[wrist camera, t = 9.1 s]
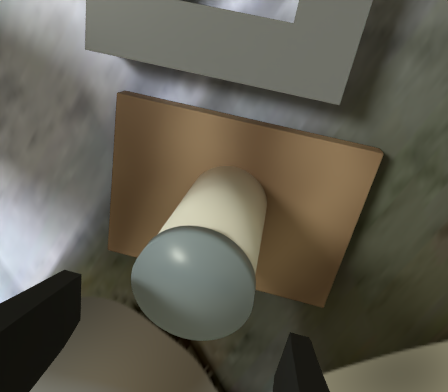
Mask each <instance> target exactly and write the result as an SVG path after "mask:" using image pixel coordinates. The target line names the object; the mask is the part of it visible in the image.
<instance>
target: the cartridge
mask: <svg viewBox="0 0 448 392" xmlns="http://www.w3.org/2000/svg"><path fill="white" fill-rule="evenodd" d="M266 209H267V199H266V195H265V192H264V189H263V187H262V186H261V184H260V183H259V181H258V180H257V179H256V178H255V177H254V176H253V175H251V174H250V173H248V172H247V171H245V170H243V169H240V168H237V167H232V166H219V167H214V168H212V169H209V170H207V171H205V172H204V173H203V174H201V175H200V176H199V177H198V178H197V180H196V181H195V183H194V184H193V185H192V187H191V188H190V190H189V191H188V192H187V194H186V195H185V197H184V198H183V199H182V201H181V202H180V204H179V205H178V206H177V208H176V209H175V211H174V212H173V213H172V215H171V216H170V218H169V219H168V220H167V222H166V223H165V225H164V226H163V227H162V229H161V230H160V232H159V233H158V234H157V235H156V236H155V237H153V238H152V239H151V240H150V241H149V243H148V244H147V245H146V247H145V248H144V249H143V251H142V252H141V254H140V255H139V256H138V258H137V259H136V261H135V263H134V266H133V269H132V275H131V285H132V290H133V294H134V297H135V299H136V301H137V303H138V305H139V306H140V308H141V310H142V311H143V312H144V313H145V315H146V316H147V317H148V318H149V319H150V320H151V321H152V322H154V323H155V324H156V325H157V326H159V327H160V328H162V329H164V330H165V331H167V332H169V333H171V334H174V335H176V336H179V337H182V338H186V339H190V340H198V341H207V340H215V339H220V338H223V337H226V336H228V335H230V334H232V333H234V332H235V331H237V330H238V329H239V328H240V327H241V326H243V325H244V323H245V322H246V321H247V319H248V318H249V316H250V314H251V311H252V308H253V303H254V296H255V290H256V277H255V274H256V268H257V262H258V256H259V251H260V245H261V239H262V233H263V227H264V221H265V215H266Z"/></svg>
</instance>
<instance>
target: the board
mask: <svg viewBox="0 0 448 392" xmlns="http://www.w3.org/2000/svg"><path fill="white" fill-rule="evenodd" d="M382 157H383V152H382V151H381V150H380V149H379V148H375V147H371V146H366V145H362V144H358V143H353V142H349V141H344V140H340V139H336V138H331V137H327V136H322V135H318V134H314V133H309V132H305V131H301V130H296V129H292V128H287V127H283V126H279V125H274V124H270V123H265V122H261V121H257V120H252V119H248V118H243V117H239V116H235V115H230V114H226V113H221V112H217V111H213V110H208V109H204V108H199V107H195V106H191V105H186V104H182V103H177V102H173V101H169V100H164V99H160V98H155V97H151V96H147V95H142V94H138V93H133V92H129V91H122V92H118V93H117V101H116V118H115V135H114V152H113V169H112V186H111V203H110V220H109V237H108V250H110V251H114V252H118V253H122V254H125V255H129V256H133V257H136V258H138V256H139V255H140V254H141V252H142V251H143V249H144V248H145V247H146V245H147V244H148V243H149V241H150V240H151V239H152V238H153V237H155V236H156V235H157V234H158V233H159V232H160V230H161V229H162V227H163V226H164V225H165V223H166V222H167V220H168V219H169V218H170V216H171V215H172V213H173V212H174V211H175V209H176V208H177V206H178V205H179V204H180V202H181V201H182V199H183V198H184V197H185V195H186V194H187V192H188V191H189V190H190V188H191V187H192V185H193V184H194V183H195V181H196V180H197V178H198V177H199V176H200V175H201V174H203V173H204V172H205V171H207V170H209V169H212V168H214V167H219V166H232V167H237V168H240V169H243V170H245V171H247V172H248V173H250V174H251V175H253V176H254V177H255V178H256V179H257V180H258V181H259V183H260V184H261V186H262V187H263V189H264V192H265V195H266V199H267V209H266V215H265V221H264V227H263V233H262V239H261V245H260V251H259V256H258V262H257V268H256V274H255V277H256V290H259V291H263V292H266V293H270V294H274V295H277V296H281V297H285V298H288V299H292V300H296V301H300V302H303V303H307V304H311V305H314V306H318V307H322V308H324V305H325V302H326V300H327V297H328V295H329V292H330V290H331V287H332V285H333V282H334V279H335V277H336V274H337V272H338V269H339V267H340V264H341V262H342V259H343V257H344V254H345V251H346V249H347V246H348V244H349V241H350V239H351V236H352V234H353V231H354V228H355V226H356V223H357V221H358V218H359V216H360V213H361V211H362V208H363V206H364V203H365V200H366V198H367V195H368V193H369V190H370V188H371V185H372V183H373V180H374V177H375V175H376V172H377V170H378V167H379V165H380V162H381V160H382Z"/></svg>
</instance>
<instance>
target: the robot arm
mask: <svg viewBox="0 0 448 392" xmlns="http://www.w3.org/2000/svg"><path fill="white" fill-rule="evenodd" d="M80 311H81V274H78V273H74V272H71V271H67V270H63V271H61V272H59V273H57V274H56V275H54V276H52V277H50V278H48V279H46V280H44V281H42V282H40V283H39V284H37V285H35V286H33V287H31V288H29V289H27V290H25V291H23V292H21V293H20V294H18V295H16V296H14V297H12V298H10V299H8V300H6V301H4V302H2V303H0V392H29V391H30V390H31V389H32V388H33V386H34V385H35V384H36V383H37V381H38V380H39V379H40V377H41V376H42V375H43V373H44V372H45V371H46V370H47V368H48V367H49V366H50V365H51V363H52V362H53V361H54V359H55V358H56V357H57V355H58V354H59V353H60V351H61V350H62V349H63V348H64V346H65V344H66V343H67V341H68V339H69V338H70V336H71V335H72V333H73V331H74V330H75V328H76V326H77V325H78V323H79V321H80ZM273 392H330V391H329V389H328V386H327V384H326V381H325V379H324V376H323V374H322V371H321V368H320V366H319V363H318V360H317V357H316V355H315V352H314V349H313V346H312V342H311V340H310V339H309V337H305V336H301V335H298V334H294V333H291V332H290V334H289V337H288V340H287V342H286V345H285V348H284V351H283V354H282V357H281V359H280V362H279V365H278V368H277V371H276V373H275V377H274V385H273Z"/></svg>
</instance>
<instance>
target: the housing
mask: <svg viewBox="0 0 448 392" xmlns="http://www.w3.org/2000/svg"><path fill="white" fill-rule="evenodd" d="M372 2H373V0H299V3H298V8H297V12H296V16H295V20H294V23H290V22H285V21H280V20H275V19H270V18H265V17H260V16H255V15H250V14H245V13H240V12H235V11H230V10H225V9H220V8H215V7H210V6H205V5H200V4H195V3H190V2H186V1H181V0H86V32H85V50H90V51H94V52H99V53H103V54H108V55H113V56H117V57H122V58H126V59H131V60H135V61H140V62H145V63H149V64H154V65H158V66H163V67H167V68H172V69H177V70H181V71H186V72H190V73H195V74H199V75H204V76H208V77H213V78H218V79H222V80H227V81H231V82H236V83H240V84H245V85H250V86H254V87H259V88H263V89H268V90H272V91H277V92H281V93H286V94H291V95H295V96H300V97H304V98H309V99H313V100H318V101H323V102H327V103H332V104H336V105H340V102H341V99H342V96H343V93H344V89H345V86H346V83H347V80H348V77H349V74H350V71H351V68H352V64H353V61H354V58H355V55H356V52H357V49H358V46H359V42H360V39H361V36H362V33H363V30H364V27H365V24H366V20H367V17H368V14H369V11H370V8H371V5H372Z"/></svg>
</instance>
